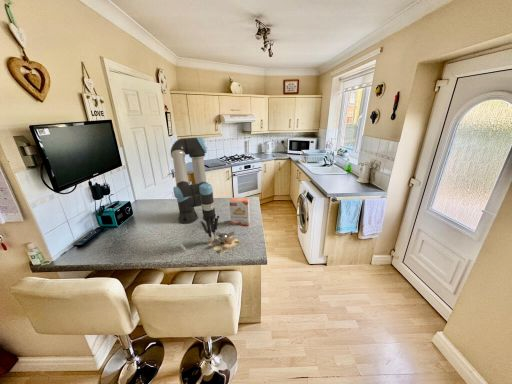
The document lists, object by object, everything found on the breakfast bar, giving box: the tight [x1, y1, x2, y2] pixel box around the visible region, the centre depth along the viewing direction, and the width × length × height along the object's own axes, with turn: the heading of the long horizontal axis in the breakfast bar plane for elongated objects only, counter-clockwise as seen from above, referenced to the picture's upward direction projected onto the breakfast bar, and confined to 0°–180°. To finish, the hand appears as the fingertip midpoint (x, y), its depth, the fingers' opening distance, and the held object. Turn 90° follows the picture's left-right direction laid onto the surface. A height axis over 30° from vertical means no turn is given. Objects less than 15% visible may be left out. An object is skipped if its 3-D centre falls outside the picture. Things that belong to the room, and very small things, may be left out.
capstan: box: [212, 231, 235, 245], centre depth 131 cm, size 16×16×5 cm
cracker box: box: [229, 197, 251, 227], centre depth 152 cm, size 14×6×21 cm, turn 84°
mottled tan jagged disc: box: [206, 232, 242, 255], centre depth 132 cm, size 17×17×3 cm
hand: (212, 240), depth 132 cm, fingers closed
